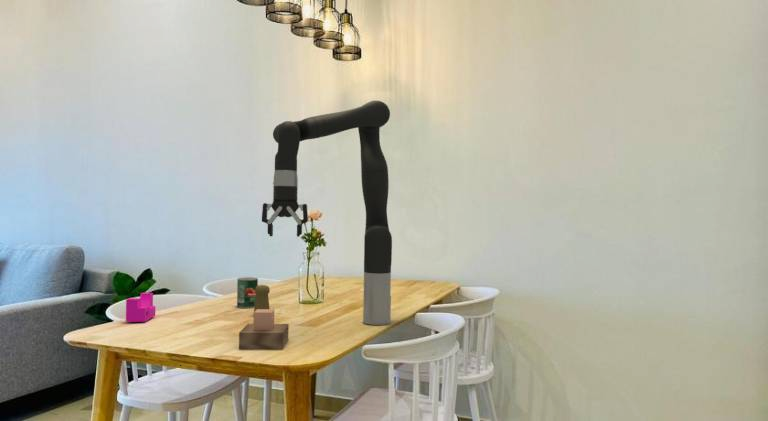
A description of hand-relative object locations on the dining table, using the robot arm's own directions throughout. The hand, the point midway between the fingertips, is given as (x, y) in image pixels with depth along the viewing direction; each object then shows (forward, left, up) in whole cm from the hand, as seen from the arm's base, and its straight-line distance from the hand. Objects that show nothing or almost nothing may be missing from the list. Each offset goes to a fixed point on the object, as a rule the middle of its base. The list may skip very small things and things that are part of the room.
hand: (284, 236), depth 176 cm
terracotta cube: (+3, +17, -26) cm, 31 cm away
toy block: (+52, -22, -31) cm, 64 cm away
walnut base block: (+3, +17, -30) cm, 35 cm away
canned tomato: (+20, -44, -30) cm, 57 cm away
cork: (+11, -25, -30) cm, 41 cm away
